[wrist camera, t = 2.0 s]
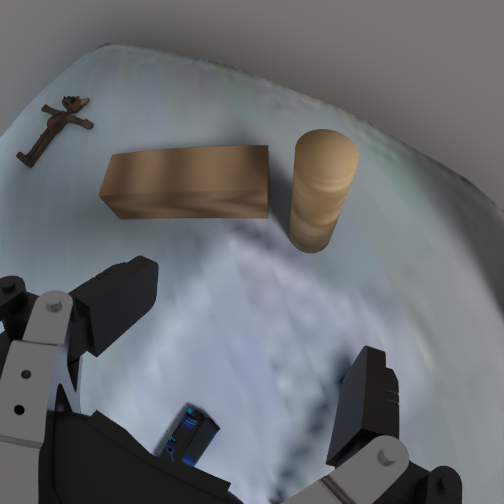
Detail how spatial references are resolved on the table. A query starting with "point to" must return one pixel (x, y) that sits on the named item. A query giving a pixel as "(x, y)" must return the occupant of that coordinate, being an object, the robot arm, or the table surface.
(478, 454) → the table surface
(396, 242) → the table surface
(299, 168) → the oak post
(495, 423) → the table surface
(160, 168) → the walnut rail
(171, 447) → the gun
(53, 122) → the brown toy figure
